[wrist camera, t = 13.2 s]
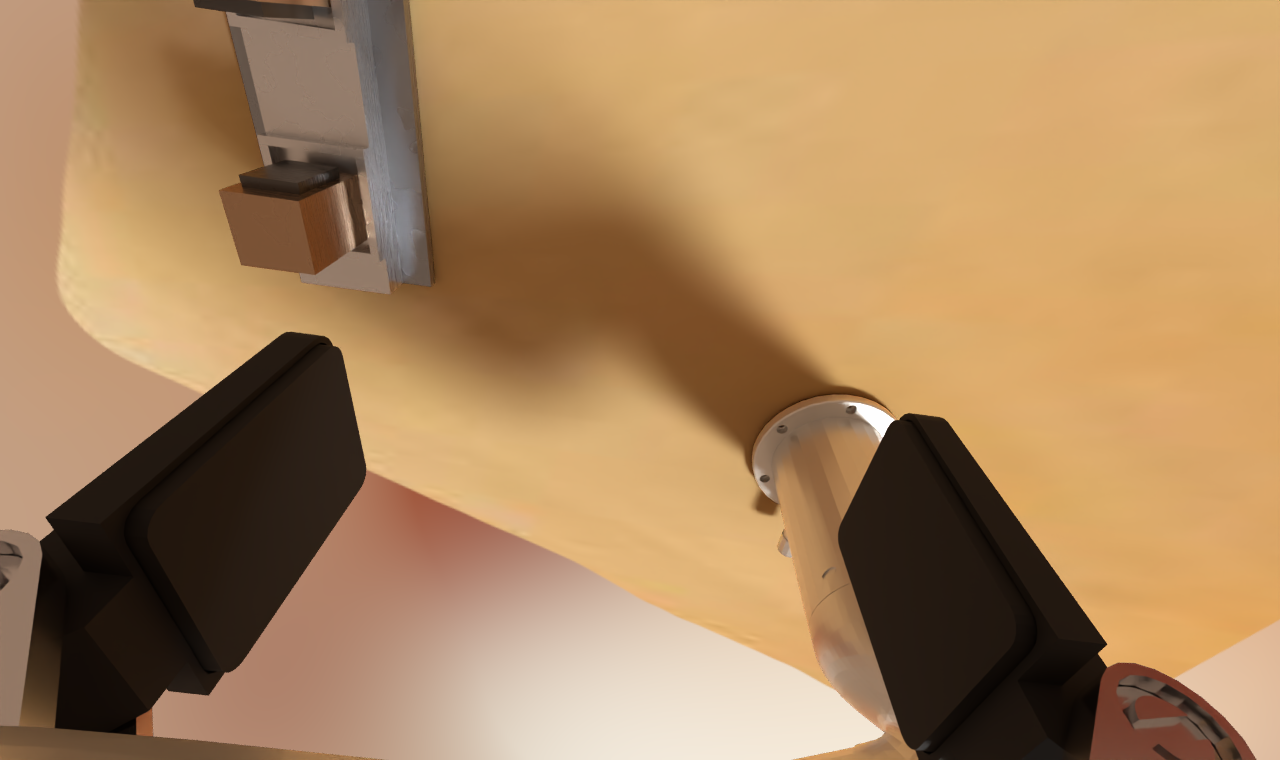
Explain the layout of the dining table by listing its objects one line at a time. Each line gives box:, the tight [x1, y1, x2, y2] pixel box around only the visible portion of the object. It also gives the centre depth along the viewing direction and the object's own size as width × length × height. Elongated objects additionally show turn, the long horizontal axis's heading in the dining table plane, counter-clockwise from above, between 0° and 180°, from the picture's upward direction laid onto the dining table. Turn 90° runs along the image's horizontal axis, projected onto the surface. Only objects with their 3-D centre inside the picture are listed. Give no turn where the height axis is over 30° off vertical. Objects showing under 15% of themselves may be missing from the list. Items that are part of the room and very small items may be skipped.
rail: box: [219, 0, 435, 294], centre depth 28 cm, size 24×10×9 cm, turn 173°
